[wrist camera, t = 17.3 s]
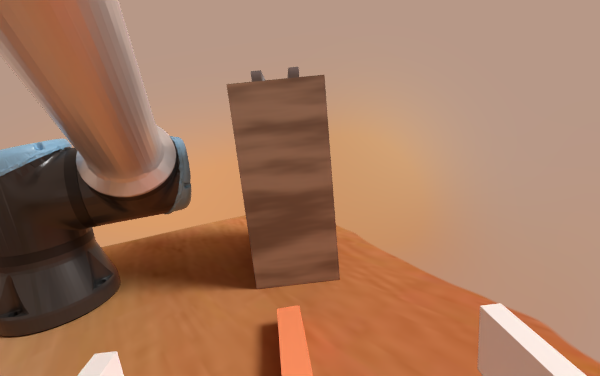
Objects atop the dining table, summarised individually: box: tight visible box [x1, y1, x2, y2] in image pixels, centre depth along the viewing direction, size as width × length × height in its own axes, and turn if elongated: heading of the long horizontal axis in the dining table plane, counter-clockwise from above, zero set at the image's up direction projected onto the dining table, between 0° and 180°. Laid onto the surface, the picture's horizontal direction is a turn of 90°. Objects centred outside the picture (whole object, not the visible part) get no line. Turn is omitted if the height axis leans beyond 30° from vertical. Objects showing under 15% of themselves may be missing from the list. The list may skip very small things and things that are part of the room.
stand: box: [227, 67, 340, 289], centre depth 48 cm, size 18×12×30 cm, turn 3°
